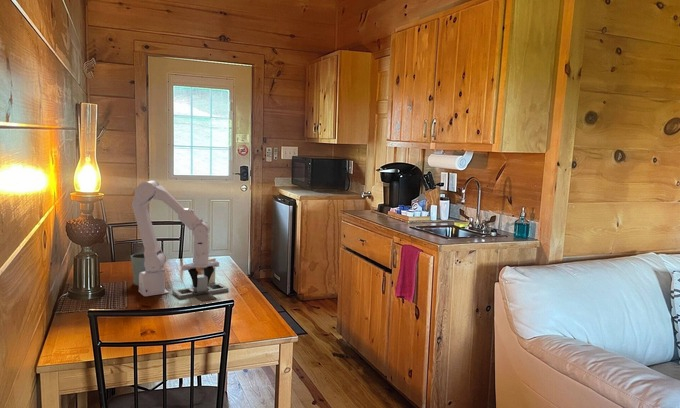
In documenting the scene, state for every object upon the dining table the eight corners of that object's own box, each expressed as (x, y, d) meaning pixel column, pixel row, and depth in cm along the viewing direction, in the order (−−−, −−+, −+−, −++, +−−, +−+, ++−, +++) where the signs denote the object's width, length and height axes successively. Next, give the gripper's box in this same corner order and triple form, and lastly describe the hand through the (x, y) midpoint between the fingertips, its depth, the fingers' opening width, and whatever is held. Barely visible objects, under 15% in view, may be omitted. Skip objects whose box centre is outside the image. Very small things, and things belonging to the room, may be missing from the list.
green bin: (162, 282, 212) (162, 254, 211) (143, 287, 203) (143, 258, 202) (144, 278, 216) (144, 251, 215) (125, 284, 207) (125, 255, 206)
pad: (201, 301, 189) (201, 300, 189) (195, 297, 194) (195, 296, 194) (216, 299, 193) (216, 298, 193) (210, 295, 197) (210, 294, 197)
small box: (192, 281, 215) (192, 257, 213) (201, 278, 220) (201, 255, 218) (206, 284, 211) (206, 260, 210) (215, 281, 216) (215, 258, 215)
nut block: (197, 292, 197) (197, 278, 196) (193, 290, 200) (194, 275, 200) (207, 291, 200) (207, 276, 199) (203, 288, 203) (203, 274, 202)
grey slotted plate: (179, 299, 191) (179, 295, 191) (172, 293, 197) (172, 290, 197) (228, 291, 203) (228, 288, 203) (220, 286, 209) (220, 283, 209)
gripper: (186, 256, 191) (186, 291, 192) (222, 252, 199) (222, 286, 201) (180, 252, 196) (180, 286, 198) (215, 249, 205) (214, 281, 206)
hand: (200, 286), depth 200 cm, fingers closed on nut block, 4 cm apart
